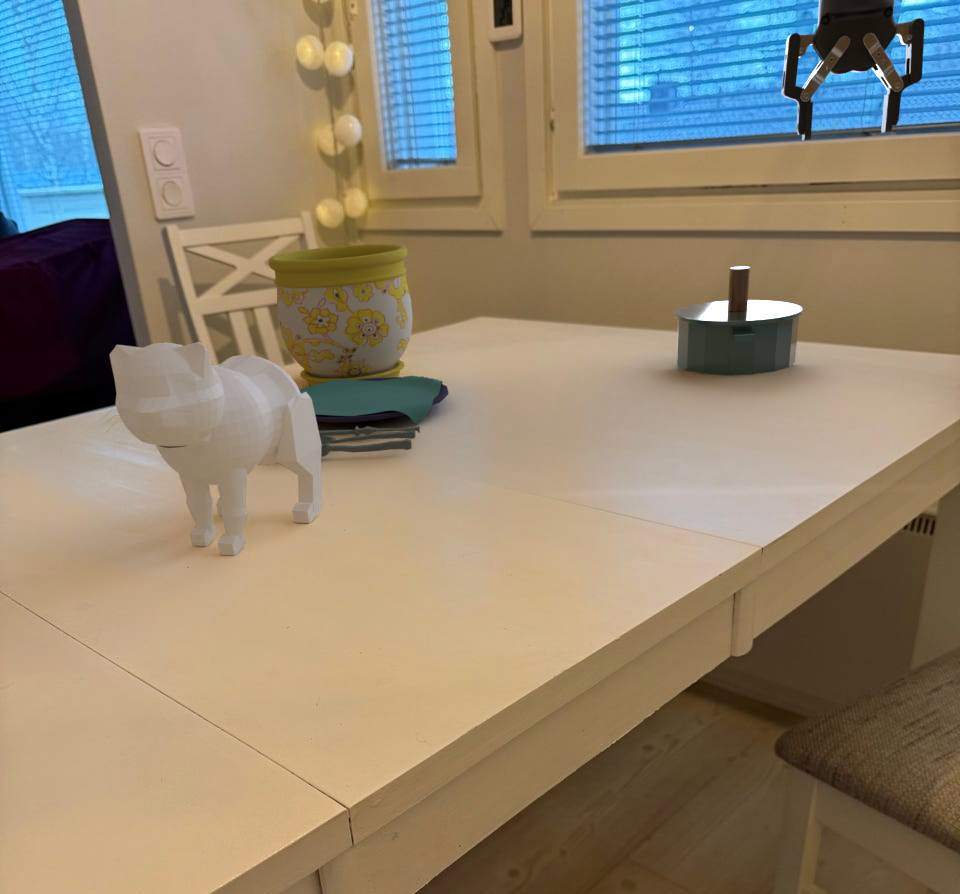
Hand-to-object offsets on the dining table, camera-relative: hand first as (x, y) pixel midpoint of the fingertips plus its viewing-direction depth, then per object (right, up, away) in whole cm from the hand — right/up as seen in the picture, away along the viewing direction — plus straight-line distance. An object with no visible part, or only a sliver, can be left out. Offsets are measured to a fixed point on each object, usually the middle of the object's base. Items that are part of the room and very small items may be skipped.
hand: (846, 136), depth 106 cm
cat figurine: (-61, -47, -25) cm, 81 cm away
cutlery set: (-55, -32, +3) cm, 64 cm away
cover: (-9, -15, +13) cm, 22 cm away
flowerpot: (-58, -21, +25) cm, 67 cm away
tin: (-8, -21, +16) cm, 28 cm away
